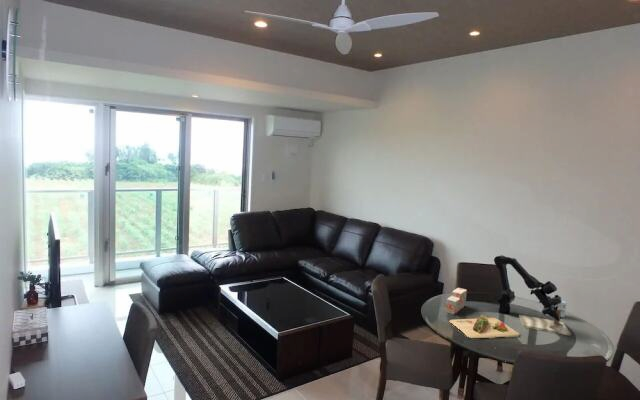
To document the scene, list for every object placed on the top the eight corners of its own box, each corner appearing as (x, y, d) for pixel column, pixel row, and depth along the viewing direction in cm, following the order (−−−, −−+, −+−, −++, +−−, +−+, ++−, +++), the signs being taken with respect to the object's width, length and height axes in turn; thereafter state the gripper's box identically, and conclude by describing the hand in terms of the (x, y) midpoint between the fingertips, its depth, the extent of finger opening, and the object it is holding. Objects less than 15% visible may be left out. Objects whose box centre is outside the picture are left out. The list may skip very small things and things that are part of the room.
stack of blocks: (454, 314, 258) (456, 297, 257) (445, 312, 262) (447, 294, 261) (465, 306, 275) (467, 289, 273) (456, 303, 279) (458, 287, 277)
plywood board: (523, 327, 245) (524, 325, 245) (518, 316, 262) (519, 314, 261) (570, 335, 238) (570, 333, 238) (562, 324, 254) (562, 322, 254)
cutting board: (495, 320, 255) (496, 309, 254) (520, 337, 233) (522, 325, 232) (447, 322, 247) (449, 311, 246) (469, 340, 225) (471, 328, 224)
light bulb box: (559, 313, 272) (562, 298, 270) (564, 317, 265) (567, 302, 264) (544, 312, 273) (546, 297, 271) (548, 316, 266) (550, 301, 265)
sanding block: (549, 327, 243) (551, 310, 242) (551, 324, 249) (554, 307, 247) (560, 331, 239) (562, 313, 238) (562, 327, 245) (565, 310, 243)
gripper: (550, 295, 237) (568, 318, 231) (557, 288, 250) (574, 310, 244) (534, 303, 243) (551, 326, 237) (542, 296, 257) (558, 317, 251)
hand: (559, 319), depth 242 cm, fingers closed on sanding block, 4 cm apart
